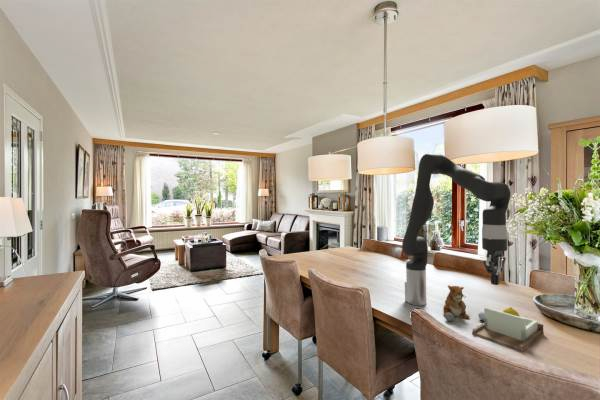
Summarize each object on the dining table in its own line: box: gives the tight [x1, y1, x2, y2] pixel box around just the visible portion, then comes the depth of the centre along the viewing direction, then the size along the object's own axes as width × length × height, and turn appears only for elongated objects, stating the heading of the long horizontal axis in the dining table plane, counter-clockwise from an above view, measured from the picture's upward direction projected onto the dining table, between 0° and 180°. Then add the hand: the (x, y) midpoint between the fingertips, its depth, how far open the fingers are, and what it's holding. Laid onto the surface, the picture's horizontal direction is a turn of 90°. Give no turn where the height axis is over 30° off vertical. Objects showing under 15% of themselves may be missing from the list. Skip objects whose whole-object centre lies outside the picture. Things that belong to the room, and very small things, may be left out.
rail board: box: [471, 322, 545, 353], centre depth 107 cm, size 16×21×4 cm
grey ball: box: [444, 313, 455, 322], centre depth 120 cm, size 4×4×4 cm
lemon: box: [502, 307, 520, 317], centre depth 109 cm, size 6×6×8 cm
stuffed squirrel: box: [442, 284, 470, 320], centre depth 128 cm, size 10×14×13 cm
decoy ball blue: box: [478, 311, 485, 322], centre depth 120 cm, size 4×4×4 cm
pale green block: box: [483, 306, 539, 341], centre depth 109 cm, size 13×13×8 cm
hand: (495, 284), depth 102 cm, fingers closed
